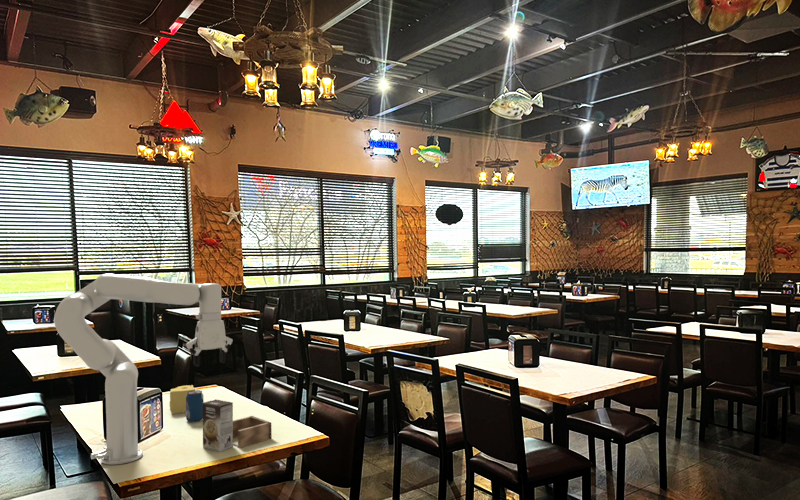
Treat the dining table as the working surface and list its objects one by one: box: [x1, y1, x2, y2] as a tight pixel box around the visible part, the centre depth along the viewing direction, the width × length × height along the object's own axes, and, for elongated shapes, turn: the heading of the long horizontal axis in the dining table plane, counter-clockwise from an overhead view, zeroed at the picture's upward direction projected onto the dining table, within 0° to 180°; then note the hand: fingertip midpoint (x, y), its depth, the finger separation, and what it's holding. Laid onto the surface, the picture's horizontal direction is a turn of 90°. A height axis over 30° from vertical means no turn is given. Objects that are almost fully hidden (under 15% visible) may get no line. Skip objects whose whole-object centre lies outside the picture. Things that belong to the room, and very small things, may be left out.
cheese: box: [169, 384, 196, 415], centre depth 246 cm, size 10×11×10 cm
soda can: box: [185, 389, 205, 424], centre depth 229 cm, size 7×7×12 cm
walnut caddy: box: [233, 415, 273, 449], centre depth 204 cm, size 13×13×6 cm
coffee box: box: [202, 399, 234, 453], centre depth 196 cm, size 9×6×16 cm
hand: (209, 364), depth 198 cm, fingers open, 9 cm apart
